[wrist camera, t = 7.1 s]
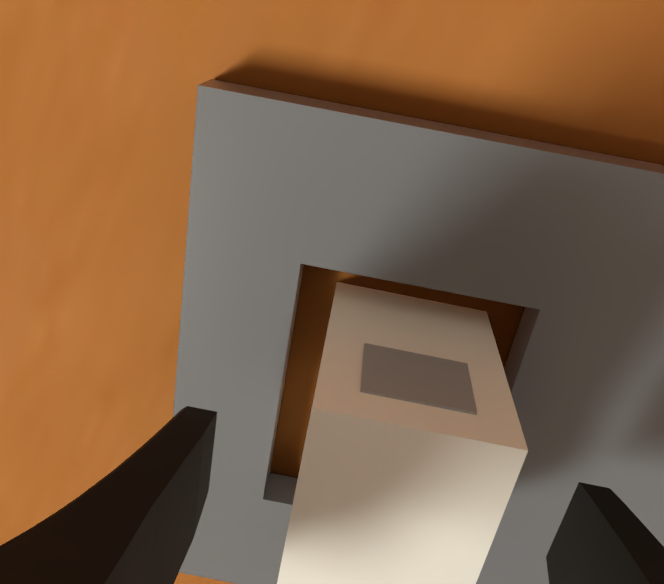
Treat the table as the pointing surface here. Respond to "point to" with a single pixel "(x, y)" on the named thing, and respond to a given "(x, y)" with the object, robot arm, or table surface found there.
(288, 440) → the table surface
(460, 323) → the plug
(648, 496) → the jack panel
